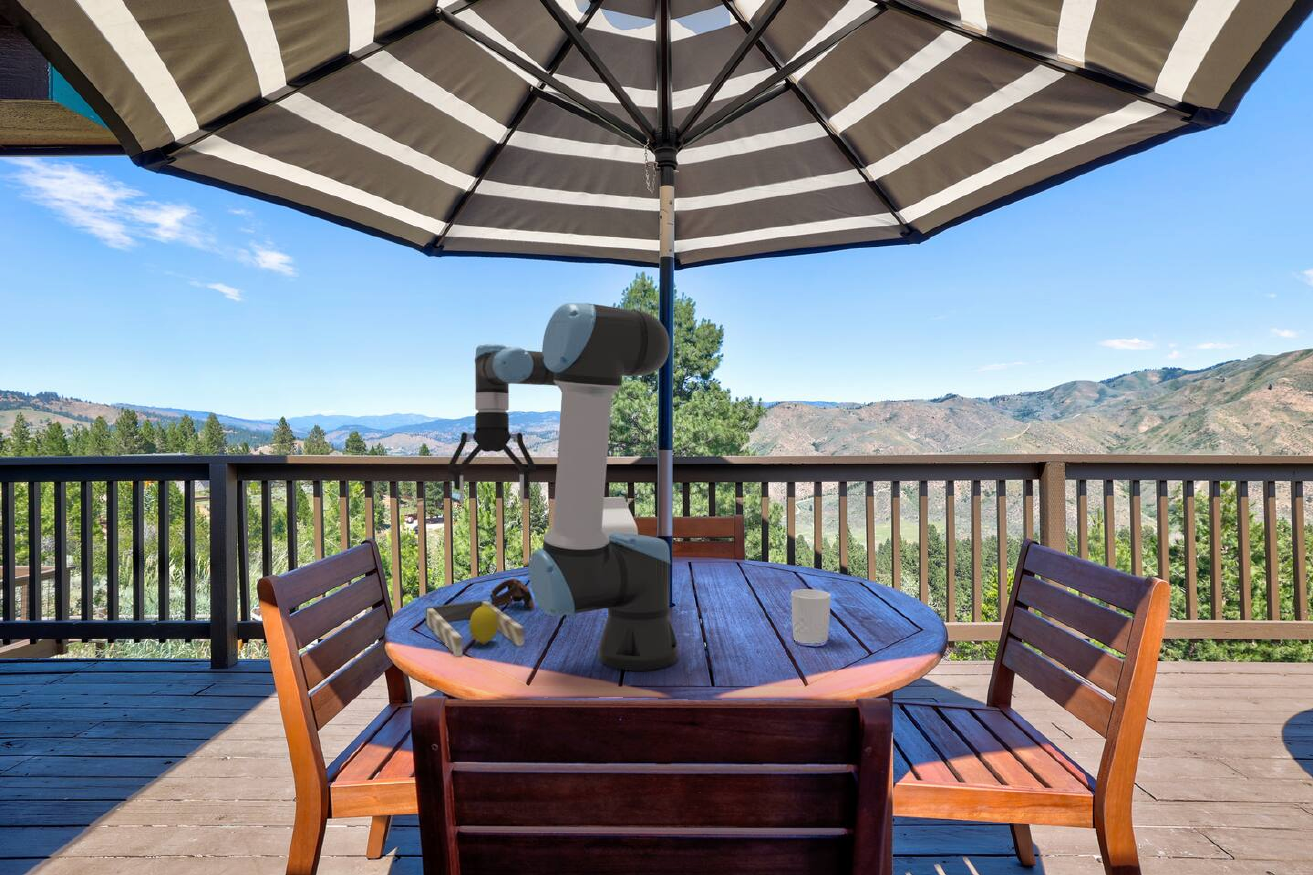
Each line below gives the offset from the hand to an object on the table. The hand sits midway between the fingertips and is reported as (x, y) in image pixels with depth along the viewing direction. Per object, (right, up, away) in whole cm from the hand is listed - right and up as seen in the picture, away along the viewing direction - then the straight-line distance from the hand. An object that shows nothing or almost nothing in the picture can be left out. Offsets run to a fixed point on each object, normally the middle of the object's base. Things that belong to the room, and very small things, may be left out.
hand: (491, 503), depth 153 cm
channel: (0, -26, -14) cm, 30 cm away
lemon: (+4, -26, -21) cm, 34 cm away
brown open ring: (+4, -26, +6) cm, 27 cm away
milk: (+27, -26, +15) cm, 41 cm away
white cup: (+70, -27, -18) cm, 77 cm away
